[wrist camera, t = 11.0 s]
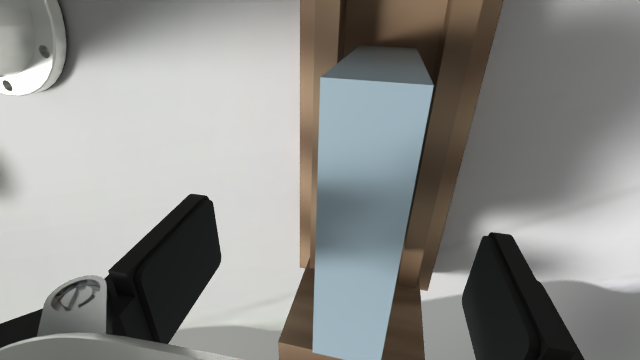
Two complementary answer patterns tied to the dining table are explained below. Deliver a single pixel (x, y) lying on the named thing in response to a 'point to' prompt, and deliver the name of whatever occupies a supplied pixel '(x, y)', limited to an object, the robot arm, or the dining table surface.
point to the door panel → (365, 193)
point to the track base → (437, 149)
